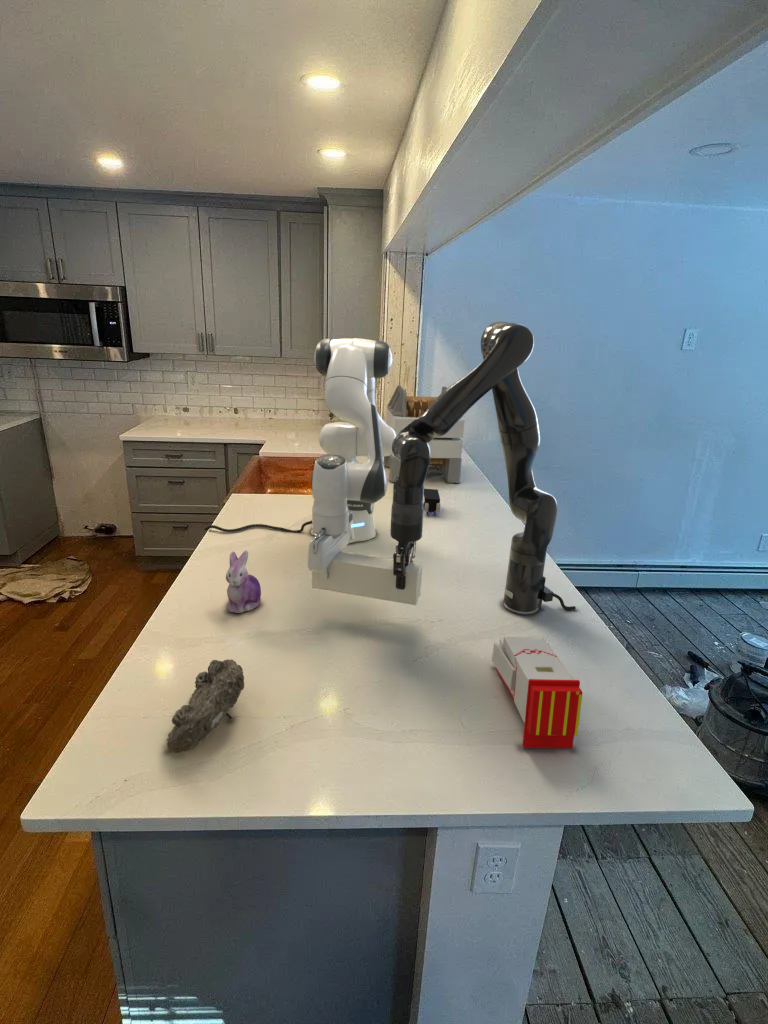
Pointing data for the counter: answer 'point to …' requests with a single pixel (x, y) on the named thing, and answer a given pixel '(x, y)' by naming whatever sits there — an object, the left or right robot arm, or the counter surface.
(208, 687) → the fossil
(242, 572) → the figurine
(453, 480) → the transformer
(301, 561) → the counter surface
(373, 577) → the bar
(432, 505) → the figurine character
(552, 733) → the toy
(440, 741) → the counter surface
